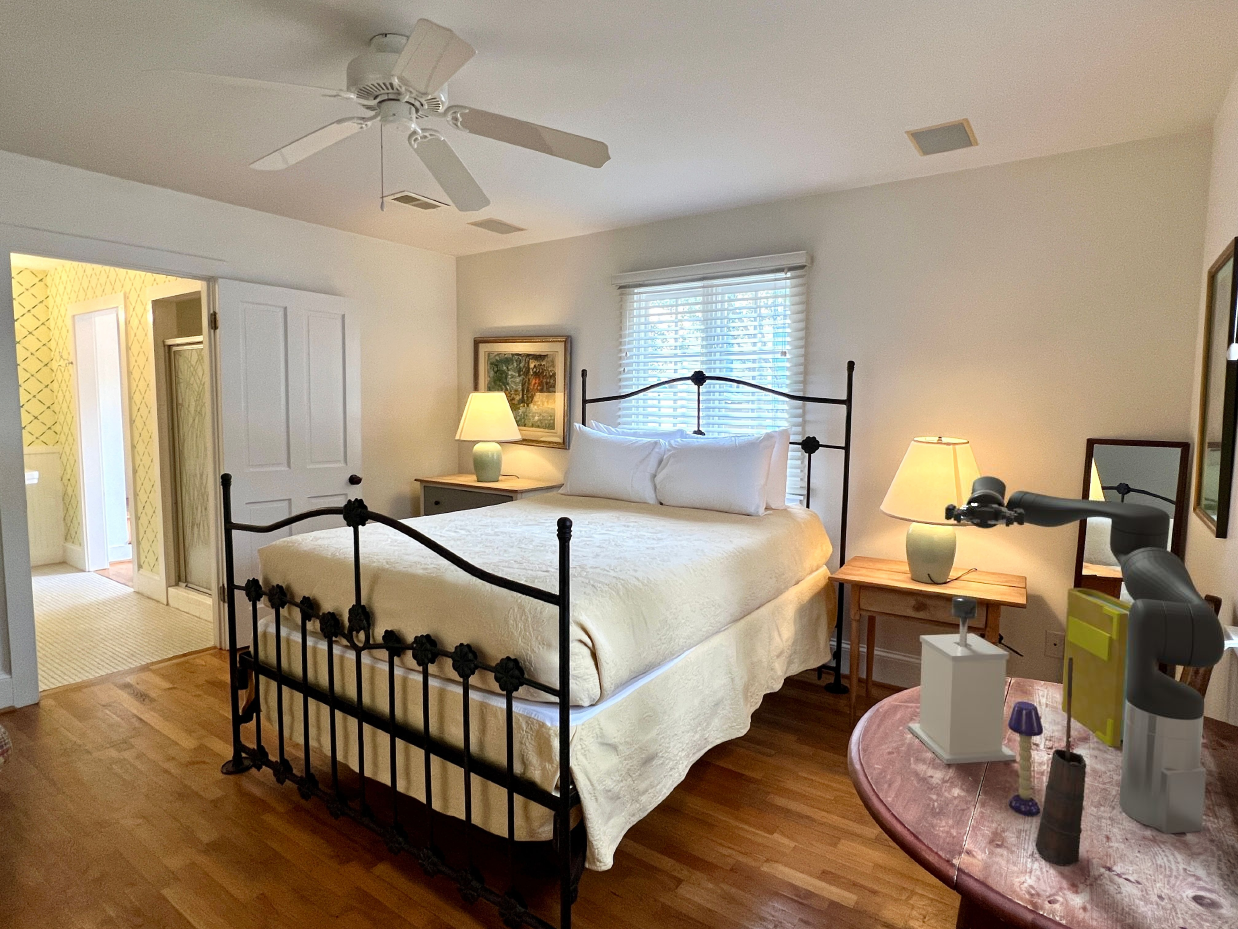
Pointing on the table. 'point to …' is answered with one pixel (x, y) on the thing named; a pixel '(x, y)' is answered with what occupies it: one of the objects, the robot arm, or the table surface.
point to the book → (1097, 662)
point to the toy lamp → (1025, 755)
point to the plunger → (964, 614)
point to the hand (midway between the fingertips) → (983, 519)
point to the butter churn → (1063, 800)
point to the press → (962, 699)
